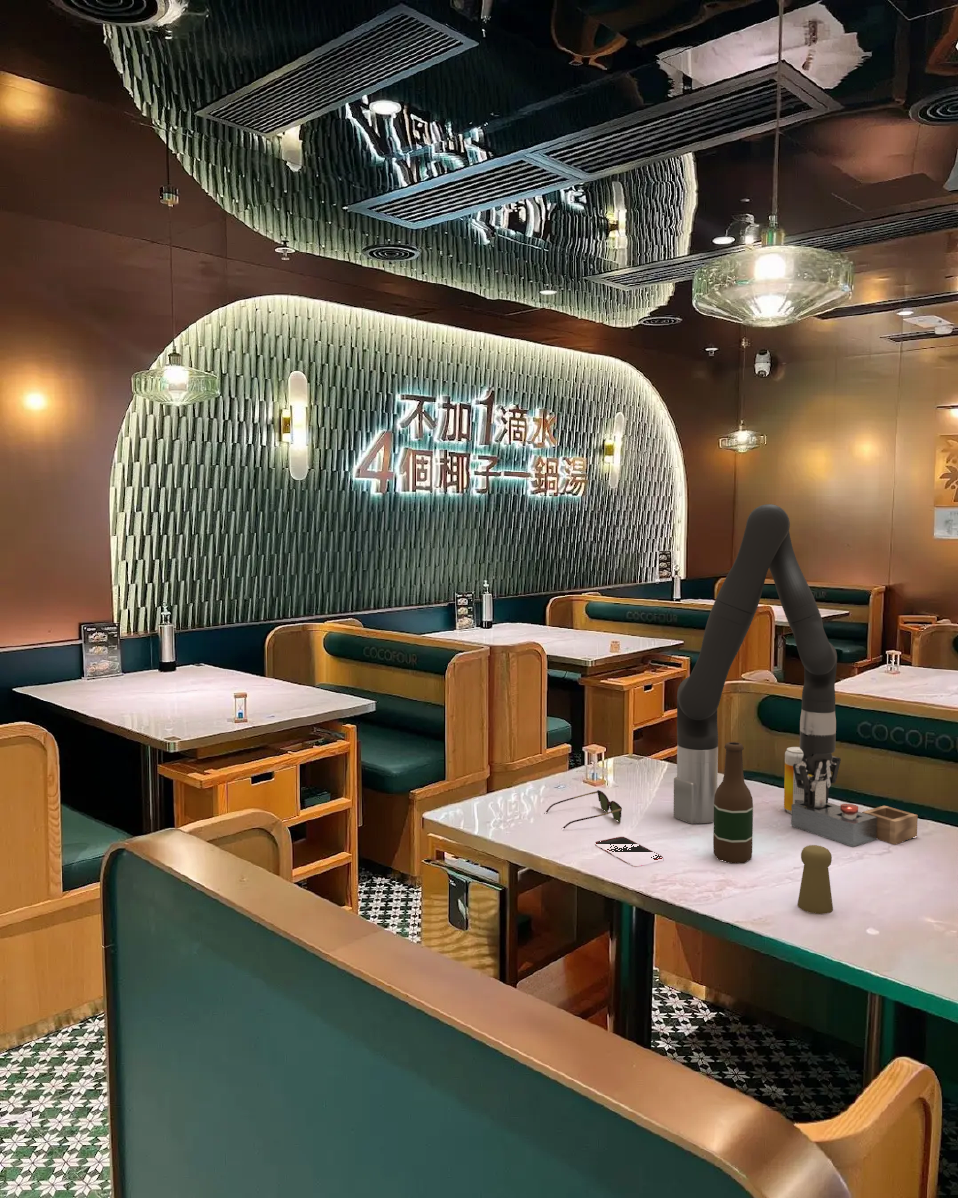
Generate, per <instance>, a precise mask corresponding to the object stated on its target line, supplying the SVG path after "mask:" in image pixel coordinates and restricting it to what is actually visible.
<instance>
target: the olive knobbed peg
mask: <svg viewBox="0 0 958 1198" xmlns="http://www.w3.org/2000/svg"><path fill="white" fill-rule="evenodd" d="M832 857H833V856H832V852H831V851H830V850H829V849H828V848H826V847H825V846H823V845H822V846H821V845H817V844H816V845H815V844H812V845H811V844H810V845H806V846H804V847H803V848H802V849H801V853H800V859H801V862H802V863H803V864H804V865H803V867H802V868H803V870H802V875H801V882H800V888H799V893H798V898H797V899H798V900H797V907H798V908H799V909H800V910H802V911H805V912H806V913H810V914H815V915H824V914H825V915H826V914H830V913H832V912H834V911H833V910H834V905H833V898H832V888H831V887H832V886H831V880H830V870H829V867H830V866H831V863H832V861H833V860H832Z"/></svg>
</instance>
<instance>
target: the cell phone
mask: <svg viewBox="0 0 958 1198" xmlns="http://www.w3.org/2000/svg"><path fill="white" fill-rule="evenodd" d="M600 841H601V842H600ZM595 843H596V844H610V845H611V844H632V845H633V844H638V843H637V842H635V841H633V839H632V840H631V839H630V838H627V837H625V836H617V837H612V838H607V839H602V840H598V841H595ZM632 845H631V846H632ZM613 846H614V845H613ZM611 847H612V846H611ZM611 847H610V848H611ZM615 847H617V846H615ZM615 847H614V848H615ZM624 847H626V845H625V846H624ZM624 847H623V849H622V848H619V849H618V847H617V848H615V849H611V850H609V849H607V850H609V851H612V850H614V851H615V852H654V853H656V854H658V856H657V855H655V856H657V857H656V858H653V859H654V860H658V859H662V858H663V859H664V857H663V856H662V855H660V854H659V853H657V852H655V851H653V850H651V849H650V848H647V847H646V846H643V845H641V844H639V846H637V847H634V846H633V847H631V848H629V849H631V850H629V849H628V850H627V848H628V847H626V848H624ZM616 849H618V850H620V849H621V850H620V851H618V850H616ZM622 850H623V851H622ZM614 851H612V852H614ZM659 855H660V856H659ZM653 857H654V856H653ZM658 857H659V858H658ZM660 857H662V858H660ZM651 858H652V857H651ZM657 858H658V859H657Z"/></svg>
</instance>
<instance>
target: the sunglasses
mask: <svg viewBox="0 0 958 1198" xmlns="http://www.w3.org/2000/svg"><path fill="white" fill-rule="evenodd" d="M595 794H597V796H598V802H600V803H599V804H600V808H601V810H602V809H603V810H602V811H604V810H605V811H606V812H607V813H606V812H605V811H604V812H605V813H601V814H596V815H593V816H588V817H587V816H586V817H583V818H579V819H575V820H571V821H569V822H568V823H566V824H565V825H564V826H563V827H562V828H564V829H565V828H567V827H568V826H569V825H571V824H572V823H573V824H574V823H577V822H580V821H584V820H590V819H594V818H598V817H601V816H606V815H609V814H612V817H613V820H615V821H616V820H618V821H619V822H620V823H621V821H622V819H621V818H622V809H623V808H622V806H620V804H619V803H618V802H617V801H615V800H612V801H610V800H609V798H608V796H607V795H606V794H605V793H604V792H603V791H602V790H599V789H598V790H596V791H592V792H589V793H584V794H581V795H577V796H574V797H570V798H567V799H563V800H560V801H557V802H555V803H554V802H553V803H552V804H550V806H549V807H548V808H547V810H545V812H547V813H548V812H549V810H551V808H552V807H554V806H555V805H558V804H561V803H564V802H567V801H571V800H574V799H578V798H582V797H585V796H589V795H595ZM609 810H610V811H609ZM619 822H618V823H619Z"/></svg>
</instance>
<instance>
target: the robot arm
mask: <svg viewBox="0 0 958 1198" xmlns="http://www.w3.org/2000/svg"><path fill="white" fill-rule="evenodd" d="M790 521H791V520H790V518H789V516H788V514H787V512H786V511H785V510H784V509H783V508H781V506H778V505H776V504H771V503H769V504H761V505H759V506H757V507H756V508H754V509H753V510H752V511H751V512H750V513H749V515H748V517H747V520H746V524H745V530H744V533H743V536H742V541H741V544H740V546H739V550H738V552H737V556H736V558H735V560H734V563H733V565H732V567H731V568H730V570H729V571H728V574H727V575H726V577H725V579H724V581H723V582H722V584H721V587H720V588H719V589H720V590H718V593H717V595H716V597H715V600H714V603H713V604H712V607H711V610H710V612H709V616H708V618H707V622H706V625H705V628H704V633H703V638H702V641H701V648H700V652H699V654H698V658H697V660H696V663H695V664H694V666H693V669H692V671H691V673H690V675H689V676H688V677H686V678H684V679H683V680H682V681H681V683H680V684H679V685H678V687H677V693H676V694H677V695H676V736H677V737H676V741H677V743H676V745H677V747H676V751H677V752H676V753H677V754H676V776H675V777H674V778H673V818H675V819H677V820H680V821H684V822H685V823H688V824H690V825H694V824H709V823H714V797H715V793H716V790H717V788H718V782H719V781H718V775H719V773H718V770H719V769H718V767H719V764H718V762H719V761H718V759H719V732H718V731H719V729H718V708H719V705H720V701H721V699H722V694H723V692H724V686H725V683H726V681H727V678H728V674H729V672H730V669H731V666H732V664H733V662H734V660H735V658H736V657H737V655H738V652H739V651H740V648H741V647H742V645H743V642H744V641H745V638H746V636H747V633H748V632H749V630H750V627H751V625H752V622H753V620H754V618H755V615H756V613H757V612H756V611H757V610H758V606H759V604H760V599H761V597H762V593H763V590H764V585H765V582H766V578H767V575H768V571H770V574H771V577H772V580H773V582H774V585H775V589H776V593H777V595H778V599H779V601H780V604H781V607H782V610H783V613H784V615H785V618H786V621H787V623H788V625H789V627H790V629H791V632H792V634H793V637H794V641H795V646H796V649H797V653H798V656H799V658H800V660H801V664H802V666H803V667H804V671H803V672H804V675H803V676H804V682H803V683H804V684H803V687H802V691H801V713H800V718H799V719H800V720H799V747H800V749H801V750H802V751H803V758H802V762H801V763H799V764H794V765H793V770H794V774H795V779H796V783H797V787H798V788H802V789H804V804H805V806H808V807H811V808H812V807H814V806H815V791H814V790H815V785H816V782H817V781H818V780H819V777H820V778H824V779H826V803H829V795H830V794H829V789H830V787H831V785H832V784H835V783H836V782H837V777H838V773H839V770H840V769H839V768H840V766H841V758H840V757H839V756H838V757H837V756H835V755H833V753H835V751H836V742H837V741H836V738H837V737H836V736H837V735H836V734H837V732H836V731H837V719H836V687H835V686H836V676H837V666H838V665H837V664H838V663H837V662H838V654H837V650H836V648H835V646H834V645H833V644H832V643H831V642H830V641H829V639H828V636H827V634H826V632H825V629H824V625H823V617H822V615H821V613H820V608H819V607H818V604H817V602H816V600H815V597H814V594H813V592H812V589H811V588H810V586H809V583H808V581H807V579H806V578H805V575H804V574H803V572H802V569H801V566H800V565H799V562H798V560H797V557H796V555H795V552H794V547H793V543H792V540H791V539H792V538H791V534H790V527H791V522H790ZM831 772H832V773H831ZM808 774H810V775H812V777H811V776H809V775H808ZM801 780H802V781H803V783H802V781H801ZM809 780H811V784H810V785H809V782H808V781H809Z"/></svg>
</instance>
